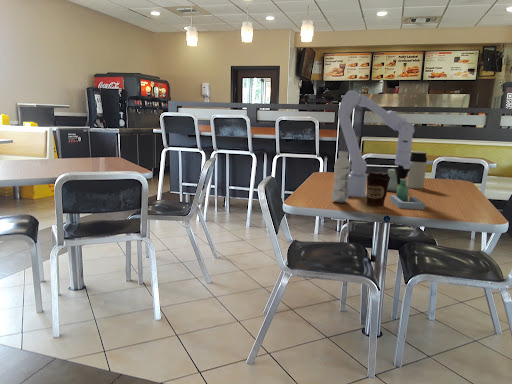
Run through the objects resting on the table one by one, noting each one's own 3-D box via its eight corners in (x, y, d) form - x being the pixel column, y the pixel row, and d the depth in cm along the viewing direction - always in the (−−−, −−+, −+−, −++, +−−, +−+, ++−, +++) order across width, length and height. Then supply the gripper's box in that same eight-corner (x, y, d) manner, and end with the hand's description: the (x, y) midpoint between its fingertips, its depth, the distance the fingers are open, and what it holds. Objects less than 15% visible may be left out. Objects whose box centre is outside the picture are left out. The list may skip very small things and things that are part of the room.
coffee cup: (383, 210, 146) (387, 175, 143) (361, 206, 150) (364, 172, 148) (389, 206, 153) (392, 172, 151) (368, 202, 157) (371, 170, 155)
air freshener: (393, 188, 193) (395, 168, 191) (407, 191, 186) (409, 170, 185) (377, 190, 188) (379, 169, 186) (391, 193, 181) (393, 171, 179)
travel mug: (426, 189, 195) (430, 152, 191) (409, 188, 195) (413, 152, 191) (419, 186, 202) (423, 151, 199) (404, 185, 202) (407, 150, 199)
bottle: (397, 201, 161) (399, 178, 160) (394, 200, 165) (396, 178, 164) (409, 201, 160) (410, 179, 160) (405, 200, 165) (407, 179, 164)
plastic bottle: (348, 201, 158) (353, 151, 155) (346, 204, 152) (351, 152, 148) (332, 199, 161) (336, 150, 157) (330, 203, 154) (334, 151, 150)
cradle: (398, 208, 149) (399, 202, 149) (390, 200, 163) (390, 195, 162) (424, 210, 148) (425, 203, 148) (413, 202, 162) (414, 196, 162)
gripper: (419, 153, 157) (415, 187, 159) (408, 150, 171) (405, 181, 173) (400, 152, 157) (397, 186, 160) (391, 149, 171) (388, 180, 174)
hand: (400, 184), depth 167 cm, fingers closed
